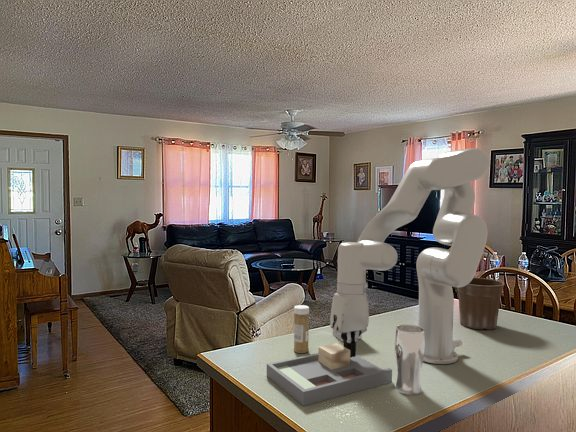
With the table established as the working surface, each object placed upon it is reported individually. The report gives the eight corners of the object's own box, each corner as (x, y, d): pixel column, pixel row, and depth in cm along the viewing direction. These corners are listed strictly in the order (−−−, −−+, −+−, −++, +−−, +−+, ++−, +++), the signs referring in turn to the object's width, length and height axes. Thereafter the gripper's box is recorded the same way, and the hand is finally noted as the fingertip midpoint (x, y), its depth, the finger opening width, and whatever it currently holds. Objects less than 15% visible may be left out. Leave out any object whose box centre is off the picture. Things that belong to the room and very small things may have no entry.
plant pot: (460, 316, 168) (461, 275, 167) (506, 323, 158) (508, 280, 158) (448, 326, 155) (449, 281, 154) (498, 335, 145) (499, 287, 144)
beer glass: (389, 383, 107) (391, 324, 106) (417, 383, 108) (418, 323, 107) (399, 396, 100) (400, 333, 100) (428, 396, 101) (430, 332, 100)
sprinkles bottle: (311, 351, 128) (312, 307, 128) (299, 354, 126) (299, 309, 125) (302, 347, 132) (303, 303, 131) (290, 350, 130) (290, 305, 129)
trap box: (347, 357, 124) (348, 346, 124) (391, 381, 108) (392, 369, 108) (266, 375, 111) (266, 363, 111) (303, 406, 95) (303, 391, 95)
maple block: (336, 357, 119) (336, 343, 119) (350, 365, 114) (350, 350, 113) (318, 361, 116) (318, 346, 116) (331, 369, 111) (331, 354, 110)
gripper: (364, 283, 123) (362, 346, 124) (320, 288, 116) (318, 355, 117) (381, 288, 117) (379, 355, 118) (336, 294, 109) (335, 365, 110)
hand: (349, 355), depth 117 cm, fingers closed
